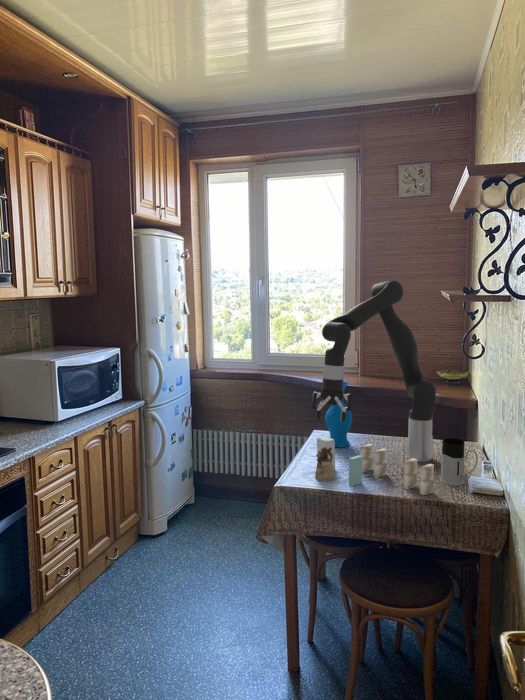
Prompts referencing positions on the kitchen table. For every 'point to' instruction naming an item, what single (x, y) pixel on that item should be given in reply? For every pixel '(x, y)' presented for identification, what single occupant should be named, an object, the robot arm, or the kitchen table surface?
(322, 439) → the skincare box
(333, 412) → the vase
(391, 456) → the kitchen table surface
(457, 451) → the grey black pitcher
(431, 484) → the domino
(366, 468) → the domino
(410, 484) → the domino
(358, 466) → the domino
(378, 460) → the domino
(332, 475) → the figurine
